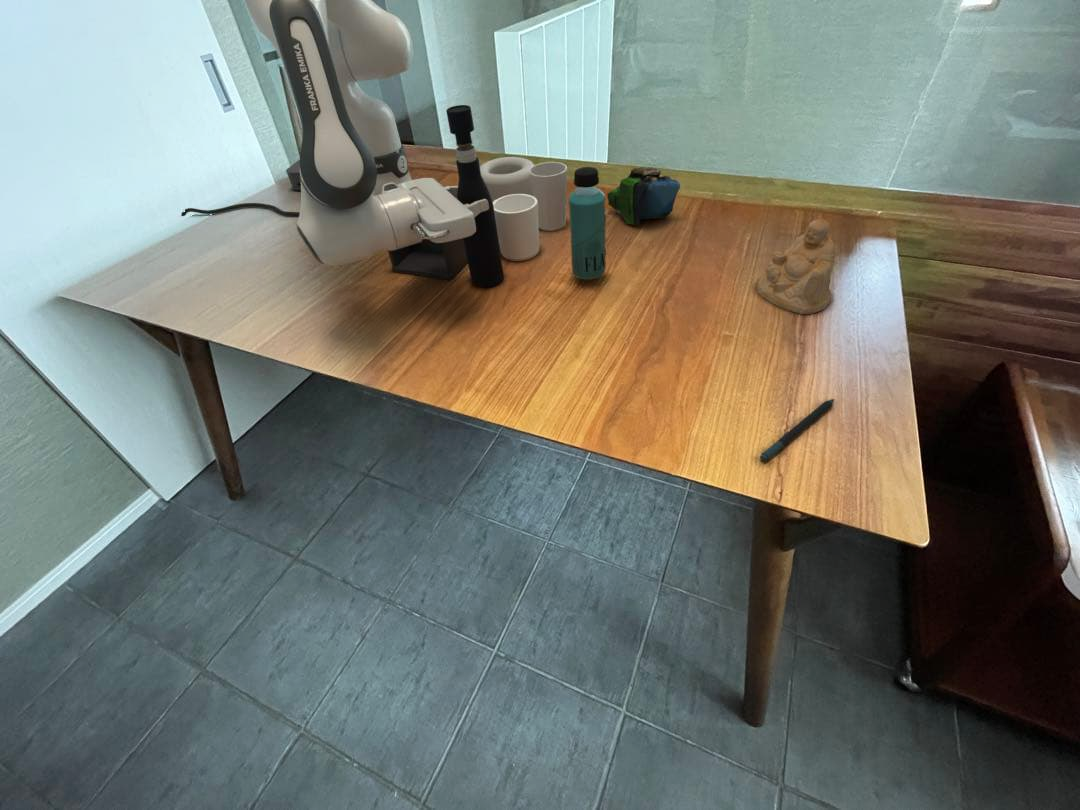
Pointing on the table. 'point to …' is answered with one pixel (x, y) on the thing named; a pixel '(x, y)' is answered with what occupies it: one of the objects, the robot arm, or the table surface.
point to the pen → (796, 430)
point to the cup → (550, 194)
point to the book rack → (430, 259)
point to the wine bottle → (470, 187)
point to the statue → (801, 272)
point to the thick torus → (507, 176)
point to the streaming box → (294, 175)
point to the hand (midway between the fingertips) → (478, 196)
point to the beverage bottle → (587, 225)
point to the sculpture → (644, 195)
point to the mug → (517, 226)
